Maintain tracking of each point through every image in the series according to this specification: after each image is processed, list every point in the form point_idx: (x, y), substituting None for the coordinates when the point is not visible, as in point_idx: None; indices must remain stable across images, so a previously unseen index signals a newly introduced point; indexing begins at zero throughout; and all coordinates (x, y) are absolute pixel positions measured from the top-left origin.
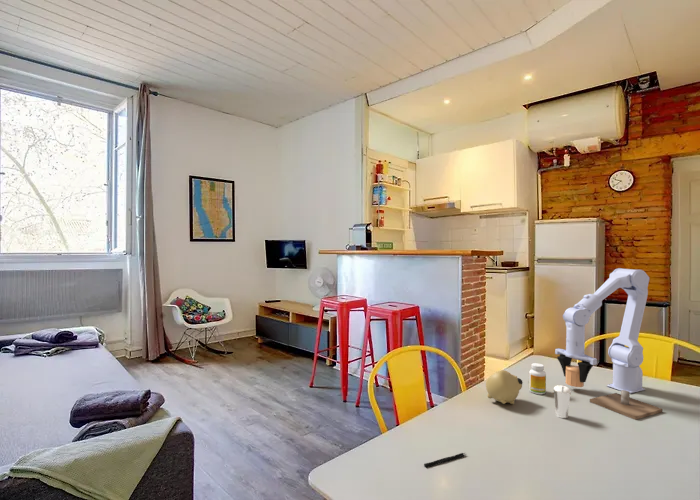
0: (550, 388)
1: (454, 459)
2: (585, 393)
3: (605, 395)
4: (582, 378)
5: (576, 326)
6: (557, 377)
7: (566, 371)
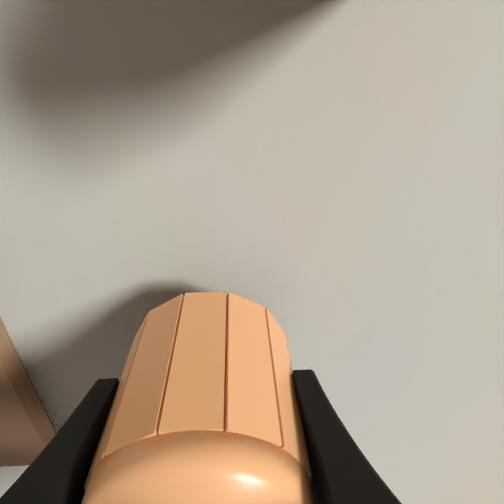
0: (334, 159)
1: None
2: (136, 331)
3: (12, 389)
4: (69, 420)
5: None
6: (439, 398)
7: (258, 416)
